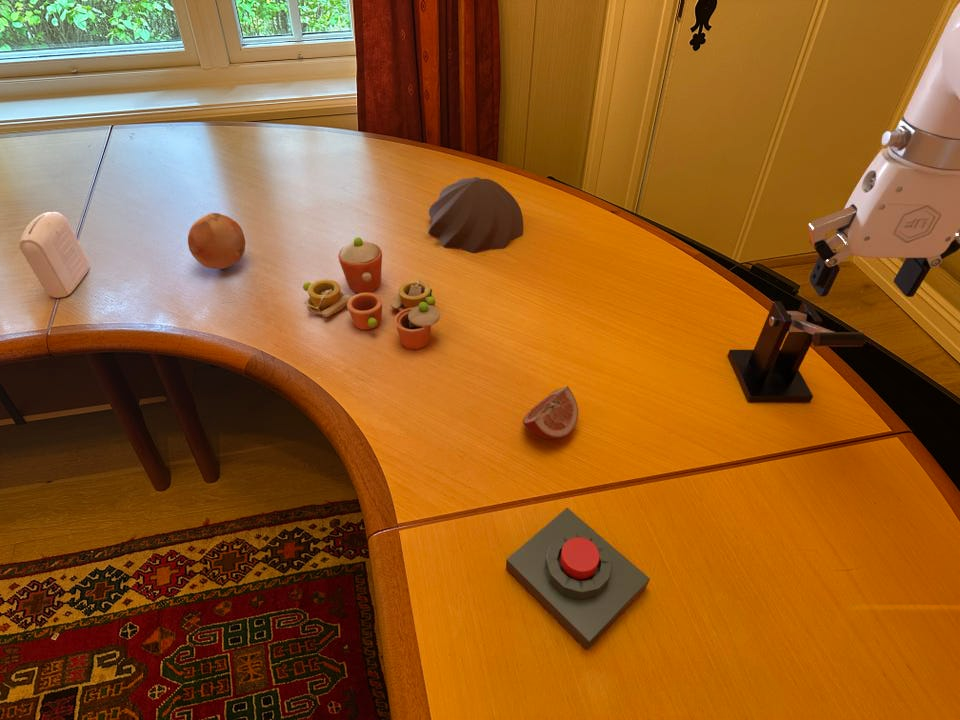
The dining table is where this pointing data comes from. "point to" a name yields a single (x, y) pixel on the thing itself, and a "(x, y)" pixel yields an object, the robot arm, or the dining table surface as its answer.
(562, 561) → the button
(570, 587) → the button box
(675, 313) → the dining table surface
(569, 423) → the fruit slice
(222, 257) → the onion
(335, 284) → the toy tea set
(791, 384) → the bracket
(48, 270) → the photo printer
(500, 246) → the decorative dome
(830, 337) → the lever
